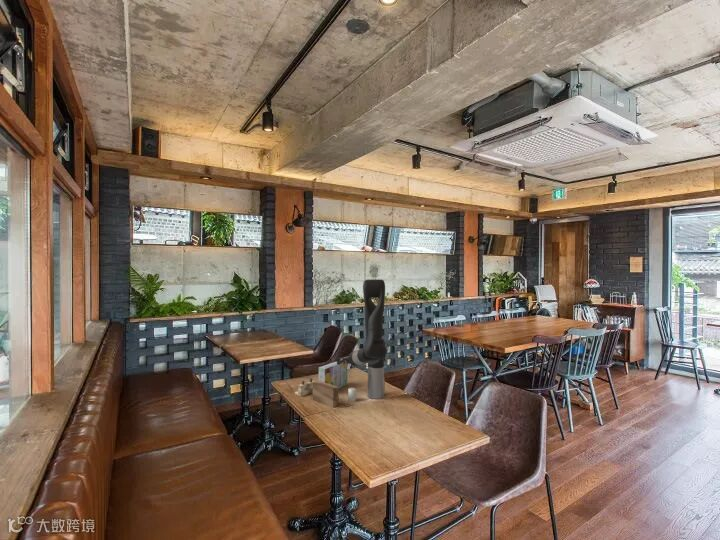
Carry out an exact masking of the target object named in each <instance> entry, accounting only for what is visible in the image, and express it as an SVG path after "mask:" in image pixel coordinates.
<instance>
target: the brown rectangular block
mask: <svg viewBox="0 0 720 540" xmlns="http://www.w3.org/2000/svg"><path fill="white" fill-rule="evenodd" d="M314 381H315V380H314ZM339 390H340V388H339V387H337V386H334V385H331V384H328V383H324V382H321V381H319V380H316V381H315V382H313V393H312V401H315V402H317V403H320V404H322V405H325V406H328V407H330V408H336V407H338V406H339Z"/></svg>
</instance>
